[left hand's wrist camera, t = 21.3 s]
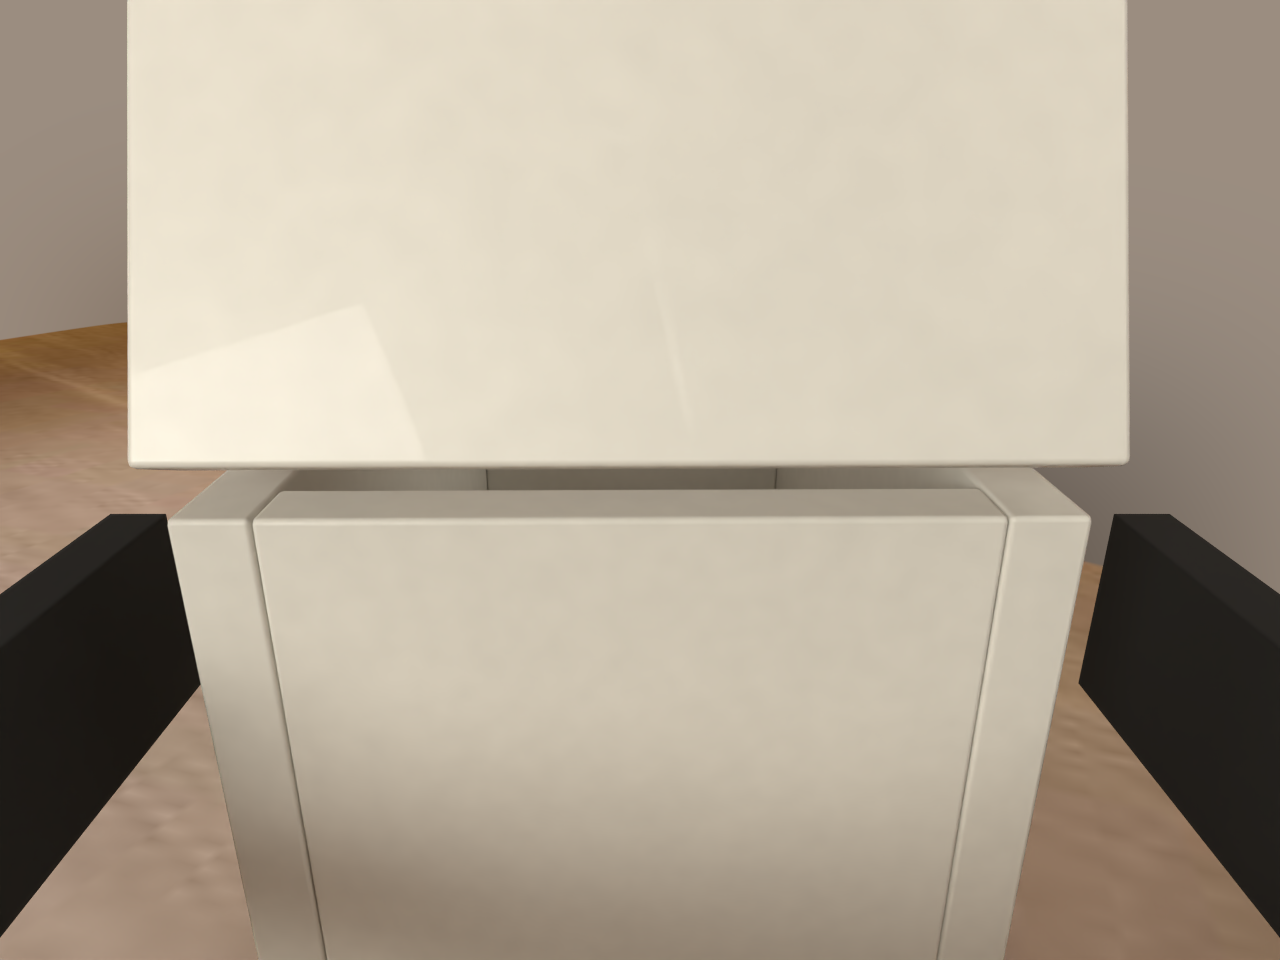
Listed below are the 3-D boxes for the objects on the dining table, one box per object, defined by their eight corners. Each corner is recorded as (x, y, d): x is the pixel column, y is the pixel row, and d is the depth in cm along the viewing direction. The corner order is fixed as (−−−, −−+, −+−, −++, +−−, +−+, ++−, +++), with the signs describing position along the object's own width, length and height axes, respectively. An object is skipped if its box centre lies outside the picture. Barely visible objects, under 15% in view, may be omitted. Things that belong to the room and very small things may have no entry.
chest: (470, 600, 26) (445, 284, 23) (794, 598, 26) (816, 284, 23) (290, 1125, 12) (164, 520, 9) (973, 1117, 12) (1095, 516, 9)
